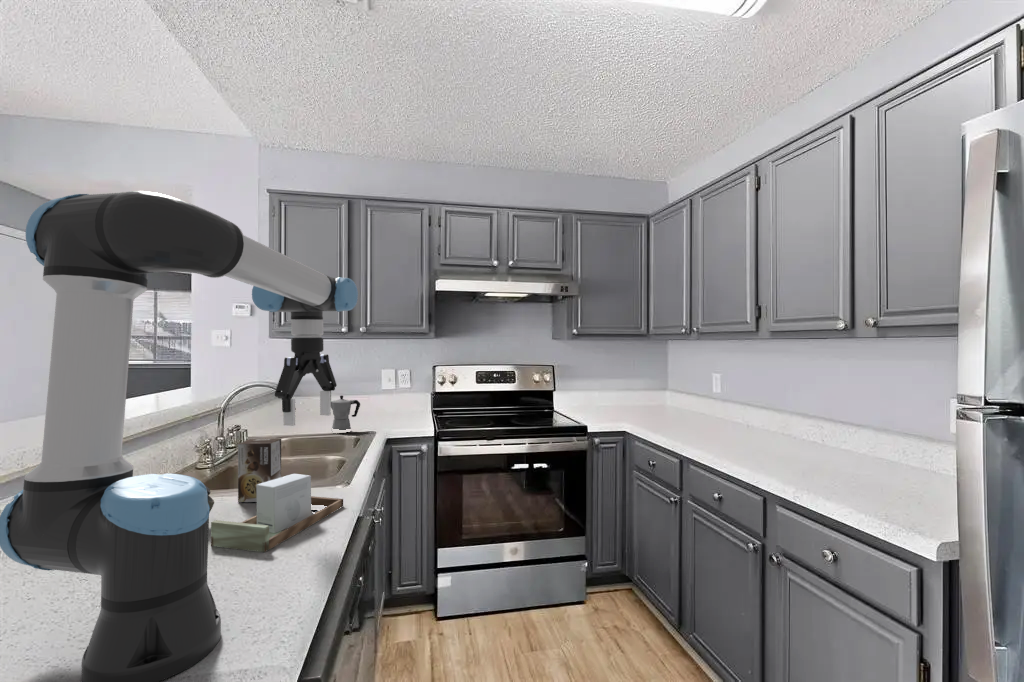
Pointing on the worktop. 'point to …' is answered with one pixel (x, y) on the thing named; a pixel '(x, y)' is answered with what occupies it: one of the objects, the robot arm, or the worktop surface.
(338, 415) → the coffeepot
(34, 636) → the worktop surface
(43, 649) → the worktop surface
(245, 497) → the coffee box
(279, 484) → the skincare box
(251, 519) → the track
